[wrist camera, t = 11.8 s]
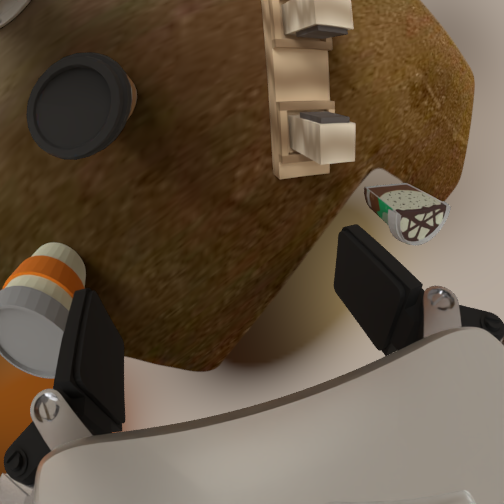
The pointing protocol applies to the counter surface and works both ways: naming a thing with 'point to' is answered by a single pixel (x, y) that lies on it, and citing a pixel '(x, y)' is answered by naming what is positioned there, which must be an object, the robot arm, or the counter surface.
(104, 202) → the counter surface
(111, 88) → the coffee cup
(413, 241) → the food container
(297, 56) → the rail
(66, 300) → the reusable coffee cup
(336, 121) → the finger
